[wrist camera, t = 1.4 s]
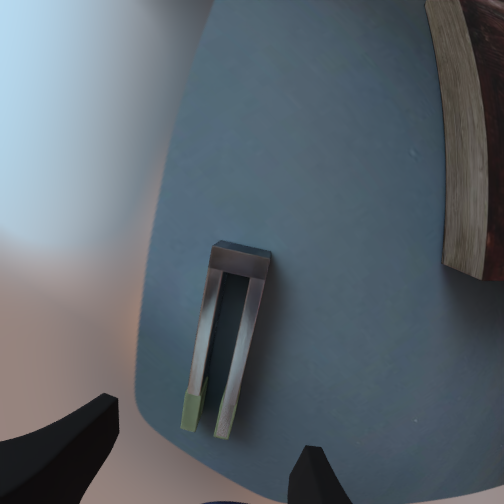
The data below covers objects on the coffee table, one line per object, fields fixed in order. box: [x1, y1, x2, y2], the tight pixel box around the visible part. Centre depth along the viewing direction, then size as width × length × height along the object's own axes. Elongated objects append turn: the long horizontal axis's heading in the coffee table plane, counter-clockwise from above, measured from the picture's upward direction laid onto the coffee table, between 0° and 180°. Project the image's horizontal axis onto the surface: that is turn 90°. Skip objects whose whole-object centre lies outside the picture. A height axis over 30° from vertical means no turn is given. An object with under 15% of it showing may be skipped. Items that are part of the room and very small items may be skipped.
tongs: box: [181, 240, 271, 440], centre depth 18 cm, size 12×3×2 cm, turn 168°
